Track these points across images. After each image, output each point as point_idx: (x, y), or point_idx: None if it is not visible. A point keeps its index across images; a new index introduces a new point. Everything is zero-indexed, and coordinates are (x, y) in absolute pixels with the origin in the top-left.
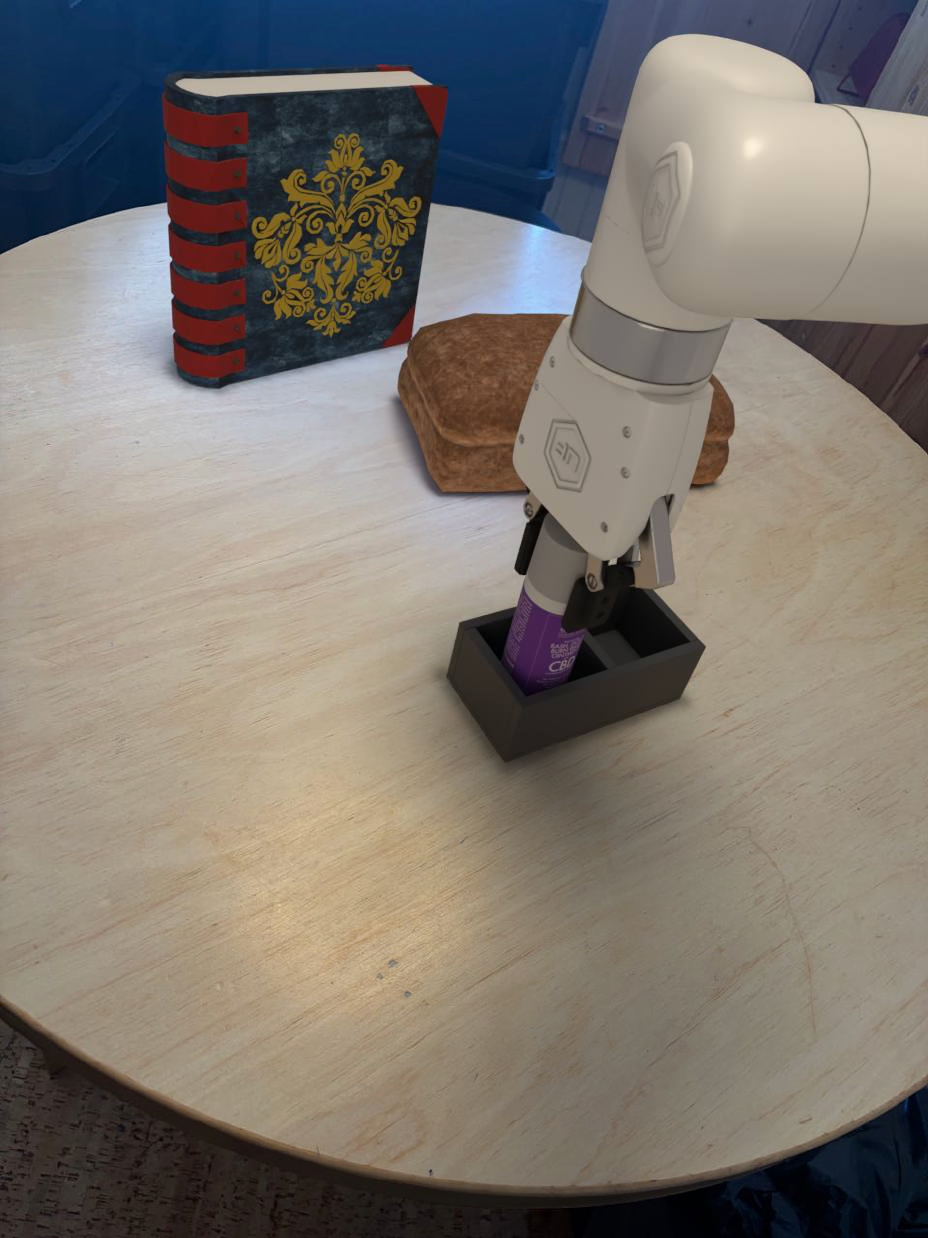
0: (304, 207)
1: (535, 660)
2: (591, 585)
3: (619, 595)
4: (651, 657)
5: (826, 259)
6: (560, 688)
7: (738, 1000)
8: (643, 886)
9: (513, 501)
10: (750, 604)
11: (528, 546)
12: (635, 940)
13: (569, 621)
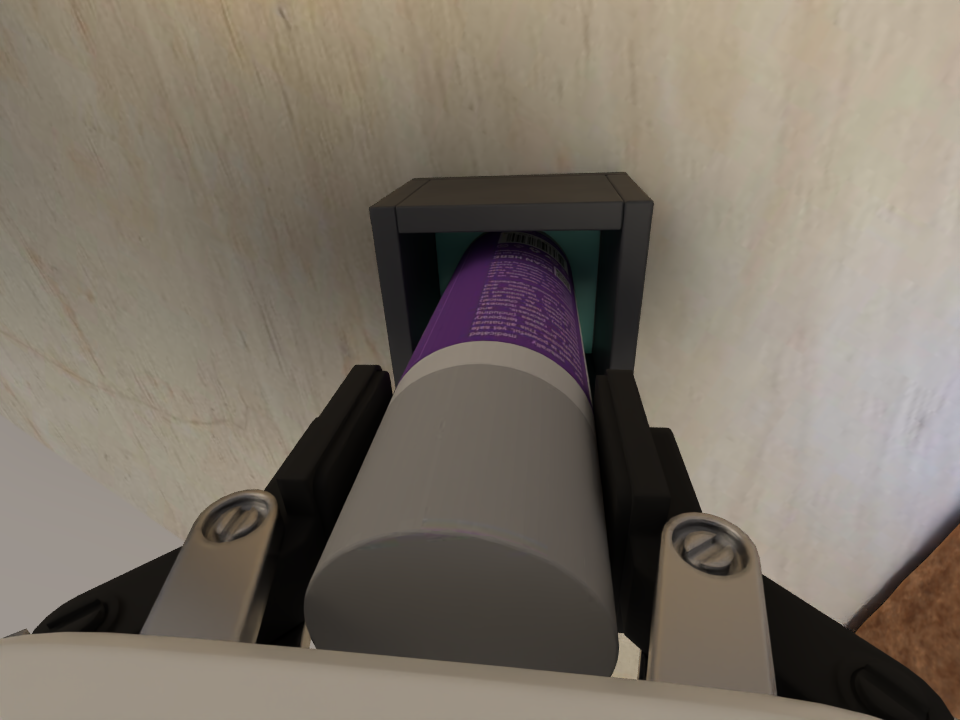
0: None
1: (448, 292)
2: (257, 506)
3: None
4: None
5: None
6: (400, 310)
7: (27, 276)
8: (177, 260)
9: (937, 507)
10: None
11: (613, 440)
12: (101, 201)
13: (342, 384)
